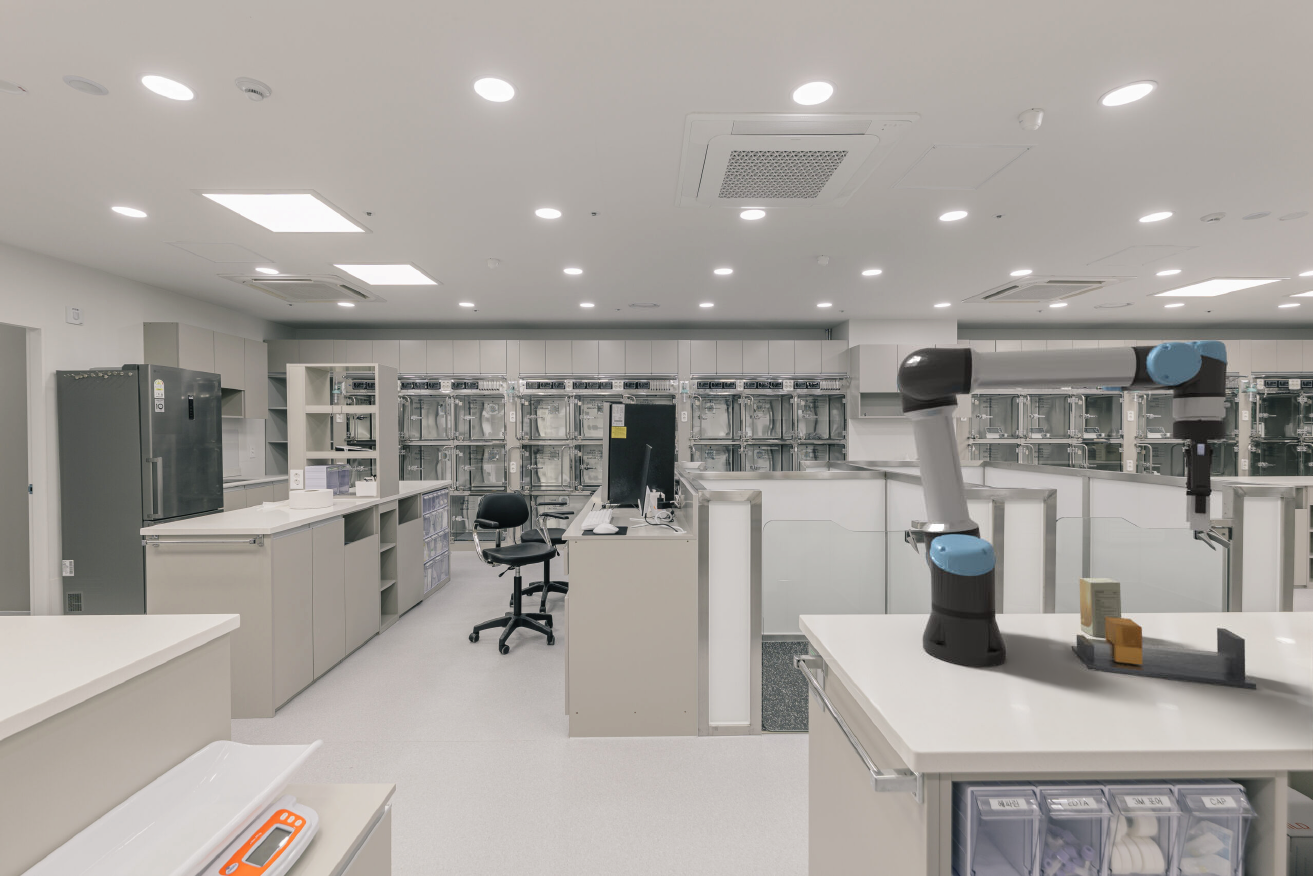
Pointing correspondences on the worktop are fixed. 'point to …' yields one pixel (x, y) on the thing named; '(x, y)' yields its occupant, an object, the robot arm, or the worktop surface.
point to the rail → (1167, 672)
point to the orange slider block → (1124, 639)
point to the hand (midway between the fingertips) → (1197, 526)
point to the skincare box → (1098, 604)
